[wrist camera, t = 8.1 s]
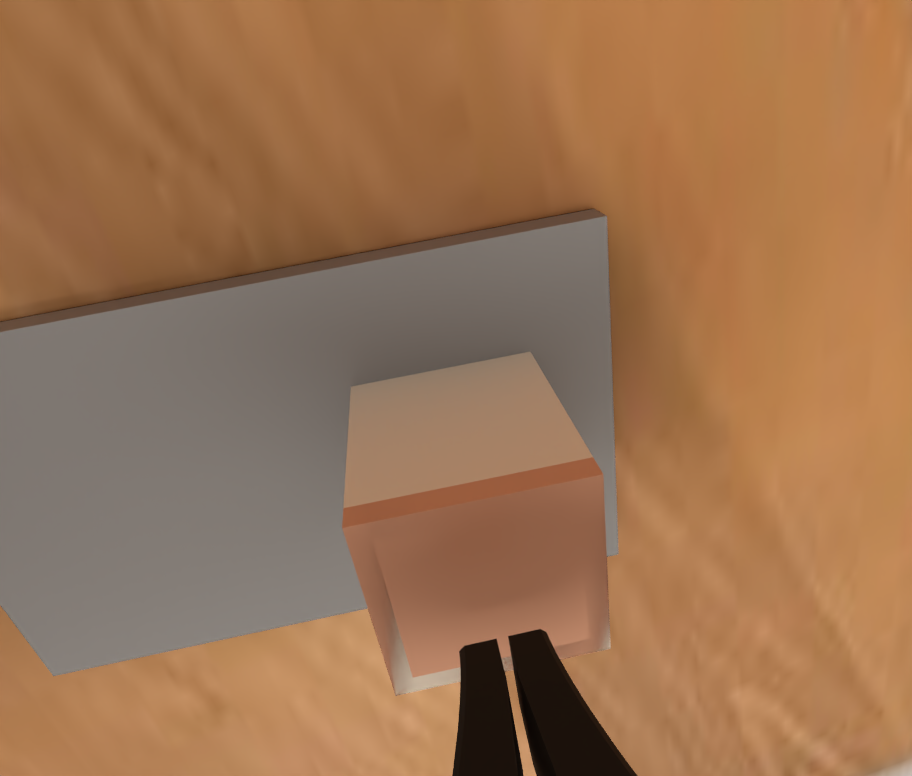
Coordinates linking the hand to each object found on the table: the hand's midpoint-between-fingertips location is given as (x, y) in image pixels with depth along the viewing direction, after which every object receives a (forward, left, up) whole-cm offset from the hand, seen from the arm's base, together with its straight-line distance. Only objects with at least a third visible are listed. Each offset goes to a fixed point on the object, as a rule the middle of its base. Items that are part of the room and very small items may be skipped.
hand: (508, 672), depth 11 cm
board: (-3, -4, -9) cm, 10 cm away
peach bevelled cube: (0, 0, -8) cm, 8 cm away
